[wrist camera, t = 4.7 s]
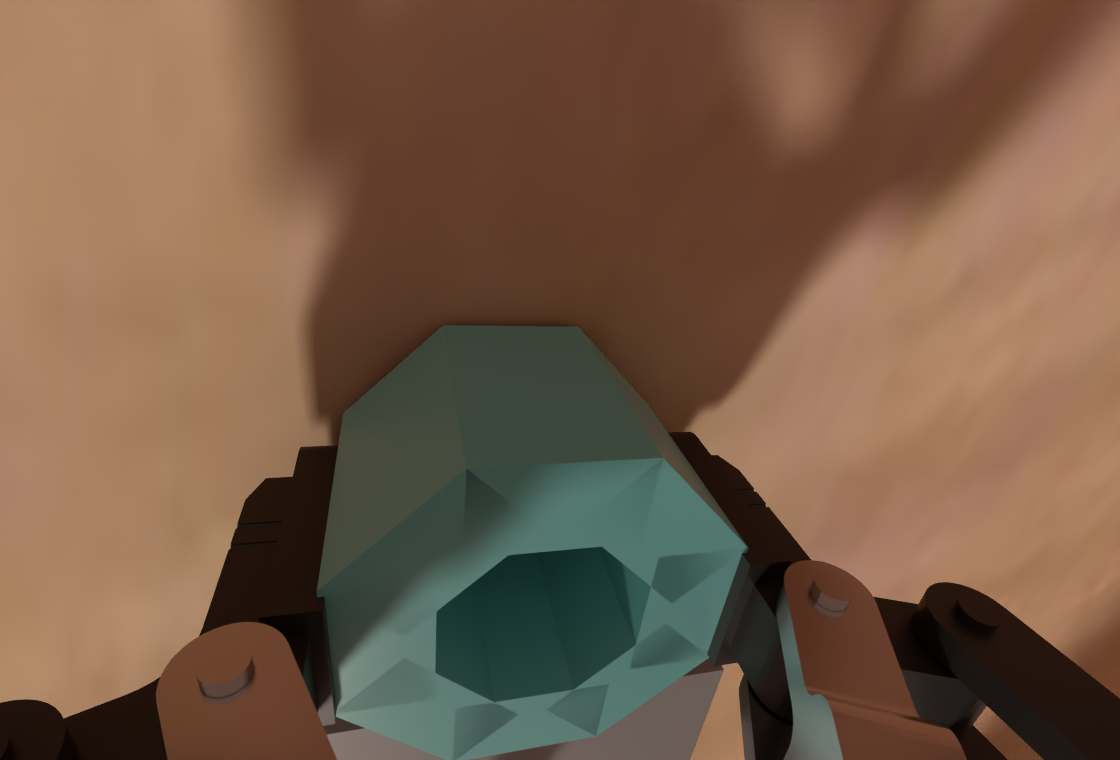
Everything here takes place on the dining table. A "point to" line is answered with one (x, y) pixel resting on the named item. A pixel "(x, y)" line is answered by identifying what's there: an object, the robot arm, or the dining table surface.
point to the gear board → (613, 756)
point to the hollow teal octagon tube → (514, 547)
